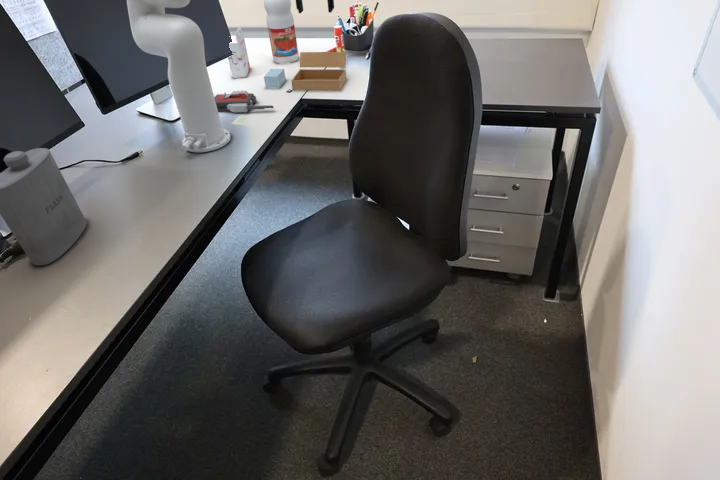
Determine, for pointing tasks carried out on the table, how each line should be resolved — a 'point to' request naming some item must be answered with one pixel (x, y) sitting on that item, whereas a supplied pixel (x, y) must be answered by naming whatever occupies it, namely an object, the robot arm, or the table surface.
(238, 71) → the ink cartridge box
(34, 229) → the flask
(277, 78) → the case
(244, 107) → the toy chainsaw
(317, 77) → the carton
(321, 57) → the flap
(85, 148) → the table surface
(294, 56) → the fruit juice
